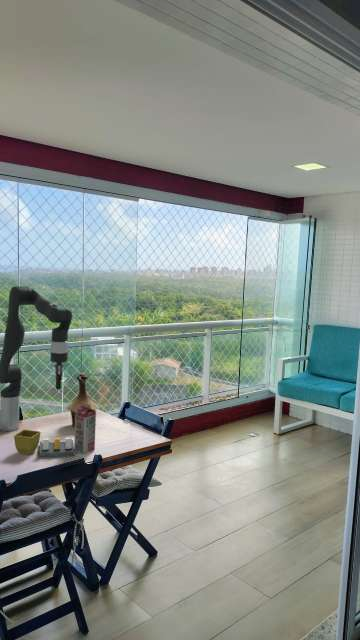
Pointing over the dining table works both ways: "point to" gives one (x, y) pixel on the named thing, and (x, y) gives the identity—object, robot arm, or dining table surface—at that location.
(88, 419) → the juice carton
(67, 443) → the tab right
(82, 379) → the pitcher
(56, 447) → the tab mid
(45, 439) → the tab left
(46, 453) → the panel
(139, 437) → the dining table surface
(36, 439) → the flower pot
